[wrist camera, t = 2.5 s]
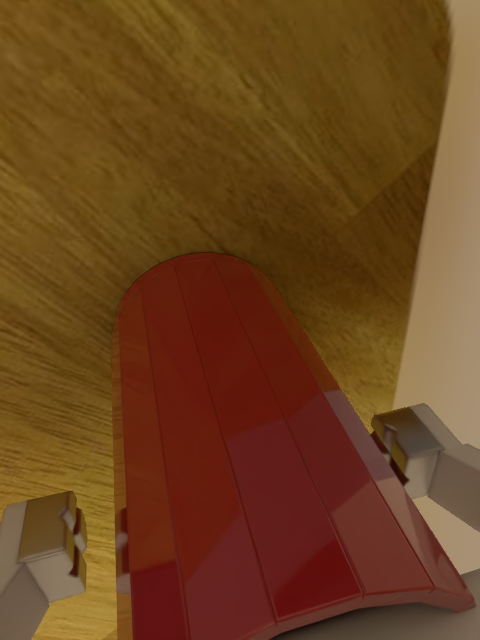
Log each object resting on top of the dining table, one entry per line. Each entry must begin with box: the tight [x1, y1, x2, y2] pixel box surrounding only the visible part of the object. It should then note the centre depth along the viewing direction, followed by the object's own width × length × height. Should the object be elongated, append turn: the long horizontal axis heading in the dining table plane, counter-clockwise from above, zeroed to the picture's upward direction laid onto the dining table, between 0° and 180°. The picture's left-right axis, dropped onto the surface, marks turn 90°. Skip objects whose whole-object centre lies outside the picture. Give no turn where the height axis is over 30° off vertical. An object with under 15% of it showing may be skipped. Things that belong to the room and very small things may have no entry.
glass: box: [111, 253, 477, 640], centre depth 12 cm, size 6×6×11 cm
